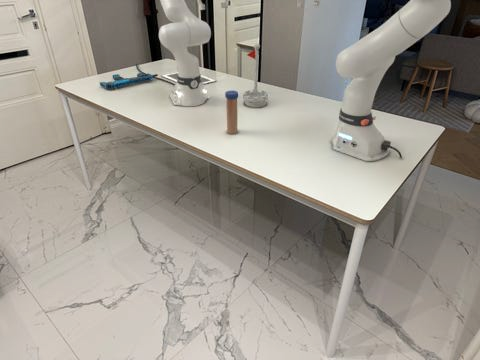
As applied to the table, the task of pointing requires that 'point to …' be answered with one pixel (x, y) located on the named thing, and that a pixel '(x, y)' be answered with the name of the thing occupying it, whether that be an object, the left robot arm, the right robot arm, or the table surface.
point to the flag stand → (255, 85)
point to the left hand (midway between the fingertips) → (213, 8)
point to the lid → (231, 94)
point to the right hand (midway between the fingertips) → (308, 6)
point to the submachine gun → (126, 80)
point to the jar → (231, 115)
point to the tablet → (174, 75)
